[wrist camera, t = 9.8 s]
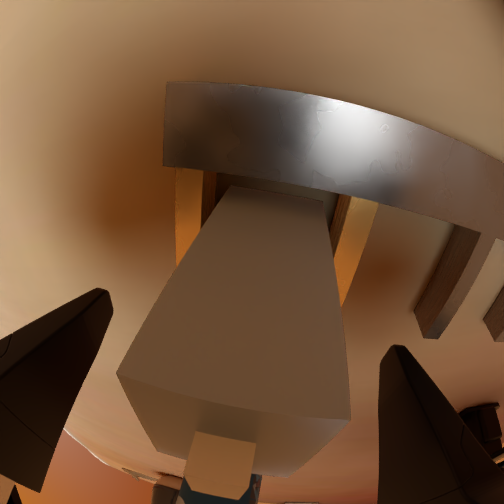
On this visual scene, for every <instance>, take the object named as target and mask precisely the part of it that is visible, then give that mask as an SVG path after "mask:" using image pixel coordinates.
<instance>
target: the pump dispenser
mask: <svg viewBox="0 0 504 504" xmlns="http://www.w3.org/2000/svg"><path fill="white" fill-rule="evenodd" d="M182 480H183V479H182V478H179V477H175V476H170V475H168V476H163V477H161V478H160V479H159V480H158V481H157V482H156V484H154V486H153V490H152V497H151V504H176V501H177V498H178V494H179V491H180V487H181V484H182Z"/></svg>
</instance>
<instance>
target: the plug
mask: <svg viewBox="0 0 504 504" xmlns="http://www.w3.org/2000/svg"><path fill="white" fill-rule="evenodd" d="M116 374H117V377H118V379H119V381H120V383H121V385H122V387H123V389H124V391H125V394H126V396H127V398H128V400H129V402H130V404H131V406H132V407H133V409H134V411H135V413H136V415H137V417H138V419H139V421H140V422H141V424H142V426H143V428H144V430H145V431H146V433H147V435H148V437H149V438H150V440H151V442H152V443H153V445H154V447H155V448H156V450H157V451H158V452H161V453H164V454H168V455H171V456H174V457H178V458H181V459H185V460H187V462H186V466H185V469H184V473H183V475H184V477H185V479H186V481H187V482H188V484H189V486H190V488H191V490H193V491H197V492H201V493H205V494H210V495H215V496H219V497H225V498H230V499H236V500H239V499H240V498H241V496H242V495H243V494H244V493H245V492H246V490H247V489H248V488H249V483H250V477H251V473H252V474H259V475H267V476H276V477H287V478H288V477H289V476H291V475H292V474H293V473H294V472H296V471H297V470H298V469H299V468H300V467H302V466H303V465H304V464H305V463H306V462H307V461H309V460H310V459H311V458H312V457H313V456H314V455H315V454H317V453H318V452H319V451H320V450H321V449H322V448H323V447H324V446H325V445H326V444H327V443H328V442H329V441H330V440H332V439H333V438H334V437H335V436H336V435H337V434H338V433H339V432H340V431H341V430H342V429H343V428H344V427H345V426H346V425H347V423H348V422H349V421H350V420H351V409H350V393H349V379H348V367H347V356H346V346H345V337H344V328H343V320H342V312H341V305H340V298H339V291H338V284H337V278H336V271H335V265H334V259H333V253H332V248H331V242H330V237H329V231H328V226H327V221H326V216H325V211H324V207H323V202H322V201H318V200H313V199H308V198H302V197H297V196H292V195H286V194H280V193H275V192H269V191H263V190H257V189H250V188H244V187H237V186H231V185H230V187H229V188H228V190H227V191H226V193H225V194H224V196H223V197H222V198H221V200H220V201H219V203H218V204H217V206H216V207H215V209H214V210H213V212H212V213H211V215H210V216H209V218H208V219H207V221H206V222H205V224H204V225H203V227H202V228H201V230H200V232H199V233H198V235H197V236H196V238H195V239H194V241H193V242H192V244H191V246H190V247H189V249H188V250H187V252H186V253H185V255H184V257H183V258H182V260H181V261H180V263H179V265H178V266H177V268H176V269H175V271H174V273H173V274H172V276H171V278H170V279H169V281H168V282H167V284H166V286H165V287H164V289H163V291H162V292H161V294H160V296H159V297H158V299H157V301H156V302H155V304H154V306H153V308H152V309H151V311H150V313H149V314H148V316H147V318H146V320H145V321H144V323H143V325H142V327H141V328H140V330H139V332H138V334H137V335H136V337H135V339H134V341H133V342H132V344H131V346H130V348H129V350H128V351H127V353H126V355H125V357H124V359H123V361H122V363H121V364H120V366H119V368H118V370H117V372H116Z"/></svg>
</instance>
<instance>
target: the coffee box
mask: <svg viewBox="0 0 504 504" xmlns="http://www.w3.org/2000/svg"><path fill="white" fill-rule="evenodd" d="M285 504H319V502H312V503H292V502H285Z"/></svg>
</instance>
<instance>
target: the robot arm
mask: <svg viewBox="0 0 504 504" xmlns="http://www.w3.org/2000/svg"><path fill="white" fill-rule="evenodd" d="M112 316H113V306H112V302H111V298H110V294H109V292H108V291H107V290H105V289H102V288H95V289H93V290H91V291H89V292H87V293H85V294H83V295H81V296H79V297H77V298H76V299H74V300H72V301H70V302H68V303H66V304H64V305H62V306H60V307H59V308H57V309H55V310H53V311H51V312H49V313H47V314H46V315H44V316H42V317H40V318H38V319H36V320H35V321H33V322H31V323H29V324H27V325H26V326H24V327H22V328H20V329H18V330H17V331H15V332H13V334H10V335H8V336H6V337H4V338H3V339H1V340H0V504H22V502H21V499H20V497H19V494H18V491H17V488H16V485H15V482H16V483H18V484H21V485H23V486H25V487H27V488H29V489H31V490H34V491H36V492H38V493H40V492H41V489H42V486H43V483H44V480H45V477H46V474H47V471H48V468H49V465H50V462H51V459H52V457H53V454H54V451H55V448H56V445H57V443H58V440H59V438H60V435H61V433H62V430H63V428H64V425H65V423H66V420H67V418H68V416H69V413H70V411H71V409H72V406H73V404H74V402H75V400H76V397H77V395H78V393H79V391H80V389H81V387H82V384H83V382H84V380H85V378H86V376H87V374H88V372H89V370H90V368H91V366H92V364H93V362H94V360H95V358H96V355H97V353H98V351H99V349H100V346H101V343H102V341H103V338H104V336H105V333H106V330H107V328H108V325H109V323H110V321H111V318H112ZM499 407H500V405H499V403H497V404H492V405H487V406H482V407H476V408H469V409H466V410H464V411H463V412H462V413H461V414H459V415H458V414H457V412H456V411H455V410H454V408H453V407H452V405H451V404H450V403H449V401H448V400H447V399H446V397H445V396H444V395H443V393H442V392H441V391H440V390H439V388H438V387H437V386H436V384H435V383H434V382H433V381H432V379H431V378H430V377H429V375H428V374H427V373H426V372H425V370H424V369H423V368H422V367H421V365H420V364H419V363H418V362H417V360H416V359H415V358H414V357H413V355H412V354H411V353H410V352H409V350H408V349H407V348H406V347H405V346H403V345H395V344H394V345H392V346H391V347H390V348H389V350H388V351H387V353H386V354H385V356H384V357H383V359H382V360H381V363H380V372H379V399H378V420H379V483H378V501H377V504H504V461H502V462H500V463H497V464H496V463H495V462H496V461H498V460H500V459H501V458H503V457H504V447H503V448H502V443H501V439H500V438H501V437H502V432H501V428H500V424H499V420H498V417H497V413H496V410H497V409H498V408H499Z"/></svg>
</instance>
